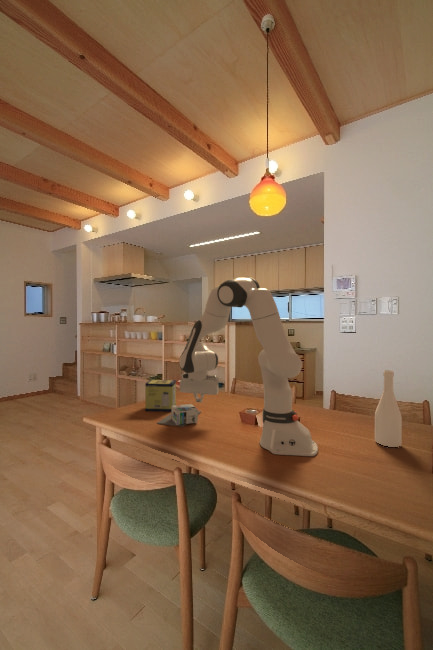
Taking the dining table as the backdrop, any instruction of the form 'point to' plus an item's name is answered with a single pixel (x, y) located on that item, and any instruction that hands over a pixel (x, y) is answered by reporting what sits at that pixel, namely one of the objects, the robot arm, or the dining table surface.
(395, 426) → the wine bottle
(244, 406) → the dining table surface
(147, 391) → the protein box
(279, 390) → the robot arm
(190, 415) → the light bulb box
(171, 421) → the rubber mat
